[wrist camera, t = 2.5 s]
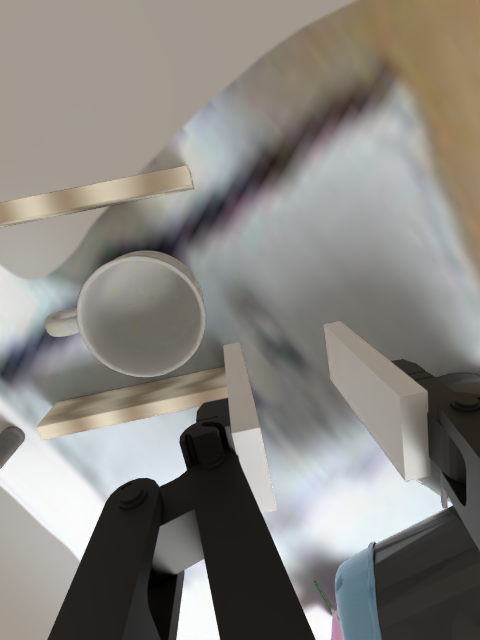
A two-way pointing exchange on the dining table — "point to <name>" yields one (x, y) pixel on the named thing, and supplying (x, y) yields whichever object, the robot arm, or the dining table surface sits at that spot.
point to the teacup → (137, 314)
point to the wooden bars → (130, 399)
